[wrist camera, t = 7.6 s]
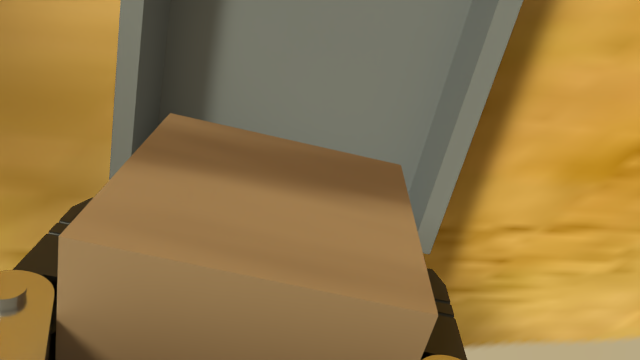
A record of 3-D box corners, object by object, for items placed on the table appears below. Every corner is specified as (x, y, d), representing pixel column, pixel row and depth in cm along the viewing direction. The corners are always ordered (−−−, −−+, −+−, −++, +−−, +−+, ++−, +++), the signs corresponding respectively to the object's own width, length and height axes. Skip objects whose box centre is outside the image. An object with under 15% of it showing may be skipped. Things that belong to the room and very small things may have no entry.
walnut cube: (169, 113, 11) (58, 236, 7) (400, 164, 12) (438, 315, 7) (148, 301, 14) (52, 489, 9) (344, 341, 14) (346, 542, 9)
